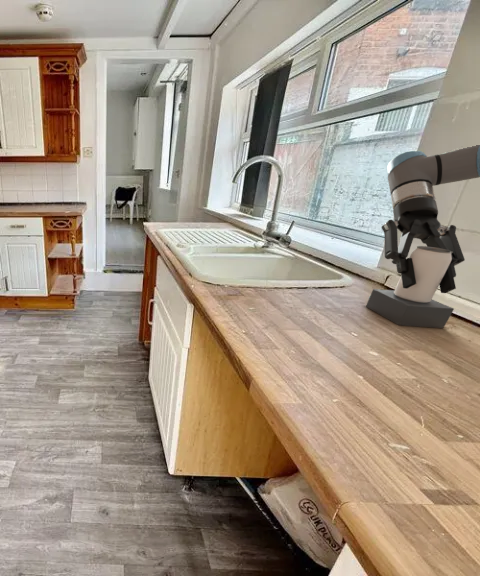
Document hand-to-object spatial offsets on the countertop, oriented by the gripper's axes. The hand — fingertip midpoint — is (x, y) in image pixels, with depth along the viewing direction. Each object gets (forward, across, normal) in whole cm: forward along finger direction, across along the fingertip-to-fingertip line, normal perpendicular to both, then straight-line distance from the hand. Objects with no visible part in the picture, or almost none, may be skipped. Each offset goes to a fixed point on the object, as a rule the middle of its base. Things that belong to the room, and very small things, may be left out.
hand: (428, 288), depth 68 cm
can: (0, 0, -5) cm, 5 cm away
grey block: (+4, 0, -9) cm, 10 cm away
